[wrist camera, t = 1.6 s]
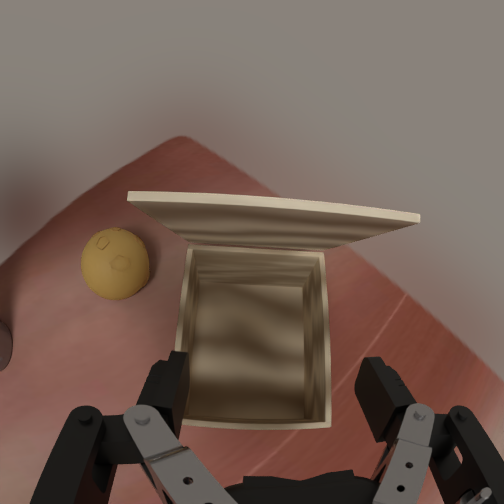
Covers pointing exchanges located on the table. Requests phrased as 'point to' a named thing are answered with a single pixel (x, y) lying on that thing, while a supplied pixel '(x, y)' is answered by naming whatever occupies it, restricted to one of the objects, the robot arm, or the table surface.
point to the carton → (255, 338)
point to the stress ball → (115, 264)
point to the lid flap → (267, 219)
